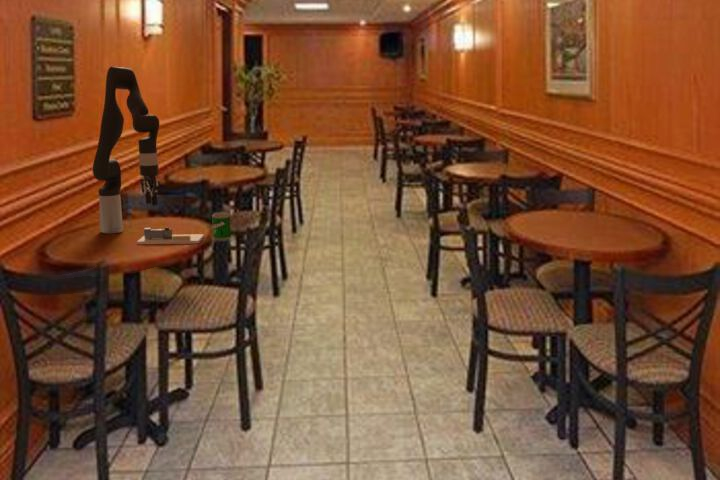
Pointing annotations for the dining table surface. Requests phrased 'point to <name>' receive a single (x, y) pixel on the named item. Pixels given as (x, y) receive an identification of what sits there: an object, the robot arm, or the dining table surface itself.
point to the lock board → (165, 241)
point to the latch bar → (158, 233)
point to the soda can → (221, 226)
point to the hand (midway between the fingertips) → (151, 204)
